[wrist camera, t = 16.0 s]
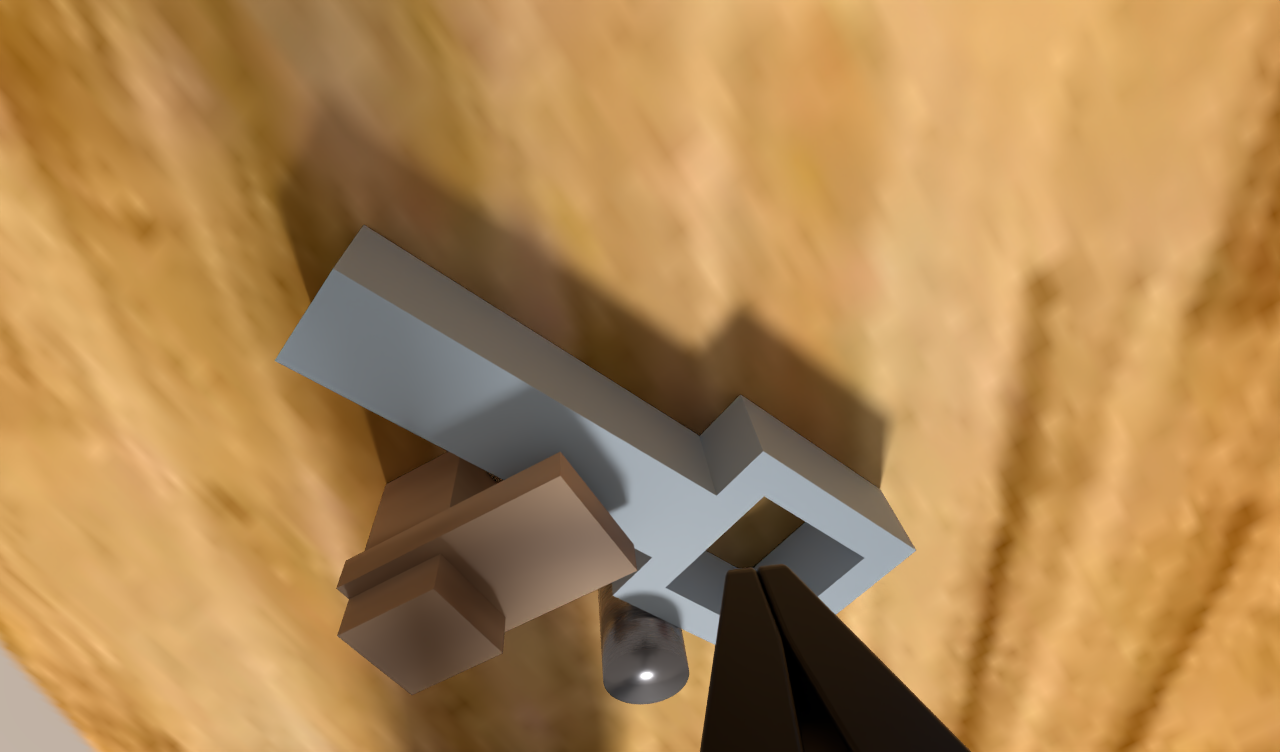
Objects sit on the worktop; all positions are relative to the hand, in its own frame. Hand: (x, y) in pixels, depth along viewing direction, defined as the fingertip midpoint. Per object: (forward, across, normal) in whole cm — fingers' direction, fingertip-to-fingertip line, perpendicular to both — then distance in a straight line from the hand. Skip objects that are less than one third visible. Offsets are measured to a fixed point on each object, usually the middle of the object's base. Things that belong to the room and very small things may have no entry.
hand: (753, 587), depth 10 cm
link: (+12, +2, +6) cm, 13 cm away
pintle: (+12, +2, +13) cm, 17 cm away
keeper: (+12, +5, +7) cm, 15 cm away
